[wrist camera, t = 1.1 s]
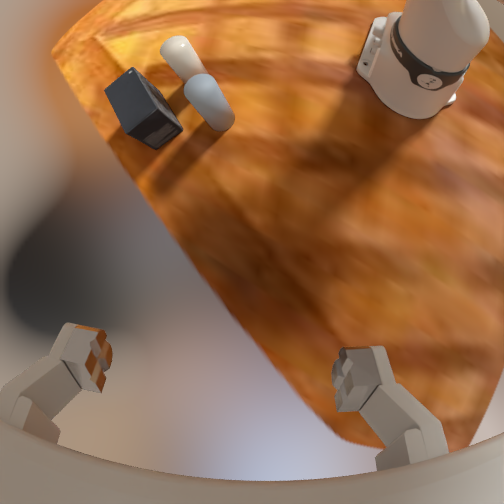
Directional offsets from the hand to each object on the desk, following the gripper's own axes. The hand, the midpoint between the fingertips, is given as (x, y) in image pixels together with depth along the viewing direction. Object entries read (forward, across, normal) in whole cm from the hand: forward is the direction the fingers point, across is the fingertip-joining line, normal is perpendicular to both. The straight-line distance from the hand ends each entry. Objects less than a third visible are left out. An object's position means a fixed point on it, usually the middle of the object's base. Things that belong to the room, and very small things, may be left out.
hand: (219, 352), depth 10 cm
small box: (+48, +16, +2) cm, 50 cm away
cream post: (+50, +9, -5) cm, 51 cm away
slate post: (+45, +4, +1) cm, 45 cm away
